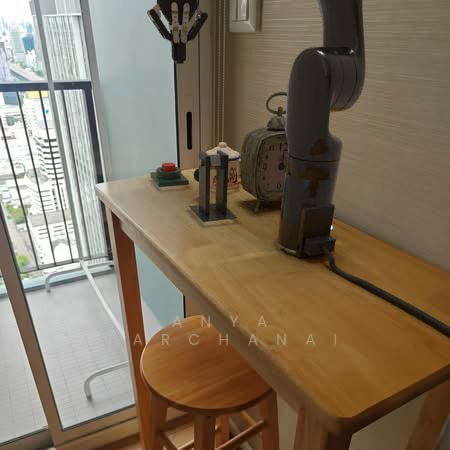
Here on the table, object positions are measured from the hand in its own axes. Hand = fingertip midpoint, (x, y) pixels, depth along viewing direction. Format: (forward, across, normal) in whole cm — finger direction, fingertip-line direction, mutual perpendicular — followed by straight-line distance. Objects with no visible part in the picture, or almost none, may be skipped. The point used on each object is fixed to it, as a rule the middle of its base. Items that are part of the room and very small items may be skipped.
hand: (179, 63), depth 89 cm
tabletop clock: (+29, +17, -16) cm, 37 cm away
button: (+25, -1, +9) cm, 27 cm away
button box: (+29, -1, +9) cm, 30 cm away
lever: (+21, +2, -13) cm, 25 cm away
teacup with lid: (+29, +13, +2) cm, 32 cm away
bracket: (+29, +2, -17) cm, 34 cm away
